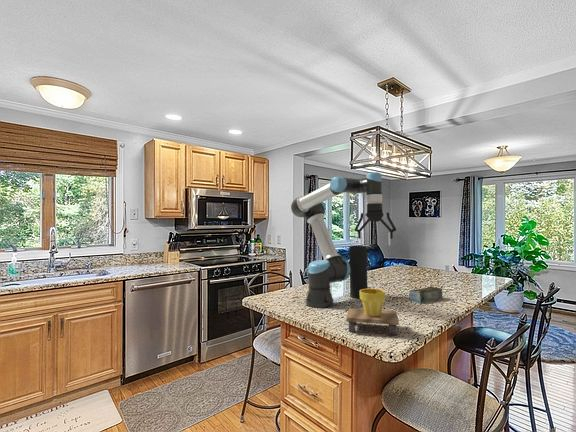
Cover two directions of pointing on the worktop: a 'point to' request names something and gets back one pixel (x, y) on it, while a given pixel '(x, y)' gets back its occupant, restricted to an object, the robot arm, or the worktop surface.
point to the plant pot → (372, 301)
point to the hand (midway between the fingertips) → (375, 245)
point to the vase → (357, 270)
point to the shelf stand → (372, 319)
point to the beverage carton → (425, 294)
